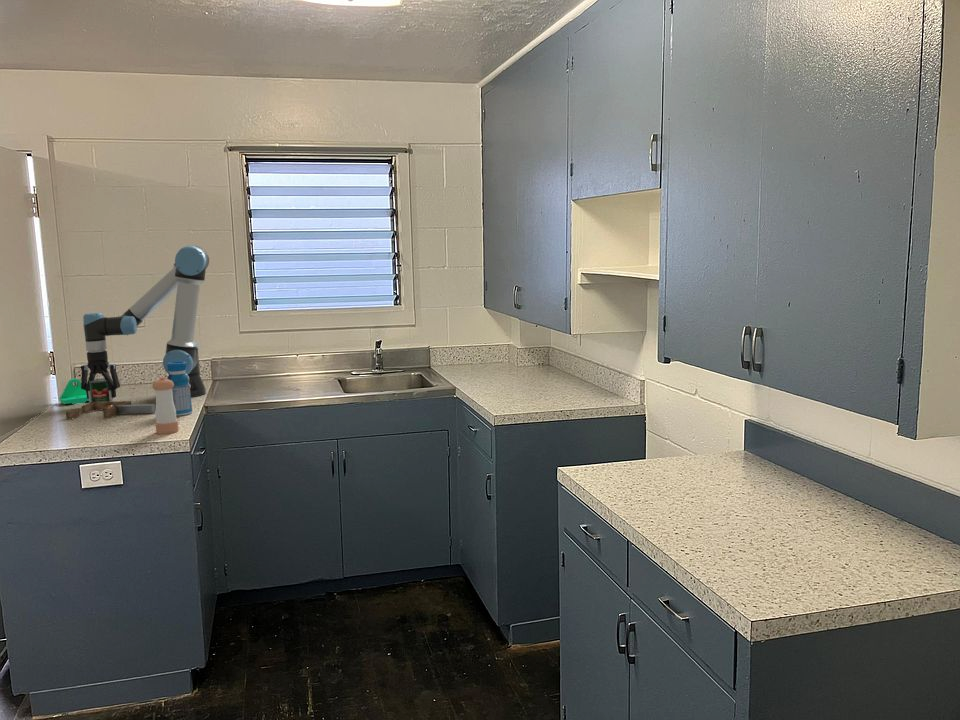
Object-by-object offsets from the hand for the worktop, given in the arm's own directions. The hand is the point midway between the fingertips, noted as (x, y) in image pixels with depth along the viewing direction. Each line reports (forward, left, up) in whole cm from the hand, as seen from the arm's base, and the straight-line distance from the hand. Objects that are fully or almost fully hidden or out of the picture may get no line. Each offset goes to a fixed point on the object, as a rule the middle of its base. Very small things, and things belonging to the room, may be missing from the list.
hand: (102, 405), depth 327 cm
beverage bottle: (-41, +19, -1) cm, 45 cm away
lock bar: (-21, +16, 0) cm, 26 cm away
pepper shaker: (-49, +49, -1) cm, 69 cm away
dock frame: (-7, +16, 0) cm, 17 cm away
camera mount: (+16, -9, -1) cm, 18 cm away
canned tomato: (0, 0, -1) cm, 1 cm away
